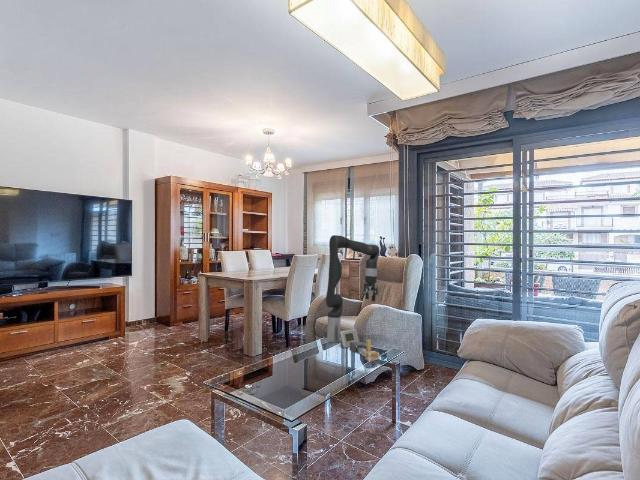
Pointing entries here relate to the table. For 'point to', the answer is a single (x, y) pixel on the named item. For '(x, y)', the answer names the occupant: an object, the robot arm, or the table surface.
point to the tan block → (371, 355)
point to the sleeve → (353, 346)
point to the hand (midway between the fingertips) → (370, 300)
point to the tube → (362, 350)
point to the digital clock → (348, 337)
